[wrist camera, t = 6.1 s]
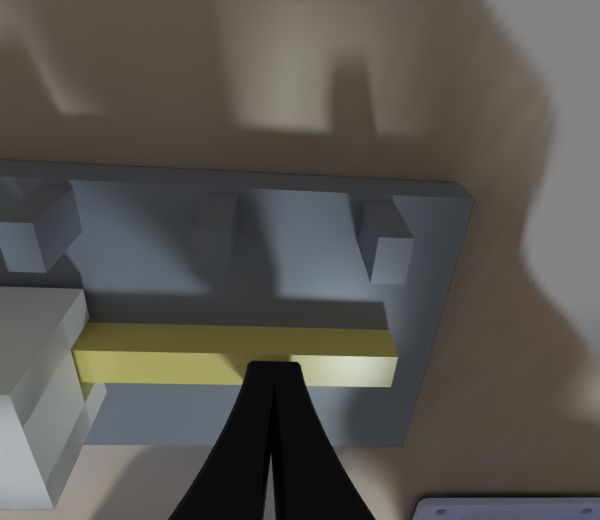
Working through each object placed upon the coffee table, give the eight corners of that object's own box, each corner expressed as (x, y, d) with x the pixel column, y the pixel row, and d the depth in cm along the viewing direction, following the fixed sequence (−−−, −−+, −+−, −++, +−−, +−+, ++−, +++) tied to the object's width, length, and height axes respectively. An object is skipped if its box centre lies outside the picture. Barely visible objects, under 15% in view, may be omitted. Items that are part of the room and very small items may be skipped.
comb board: (458, 182, 12) (515, 238, 9) (395, 419, 17) (418, 504, 14) (-189, 150, 11) (-359, 202, 8) (-52, 415, 16) (-126, 506, 13)
